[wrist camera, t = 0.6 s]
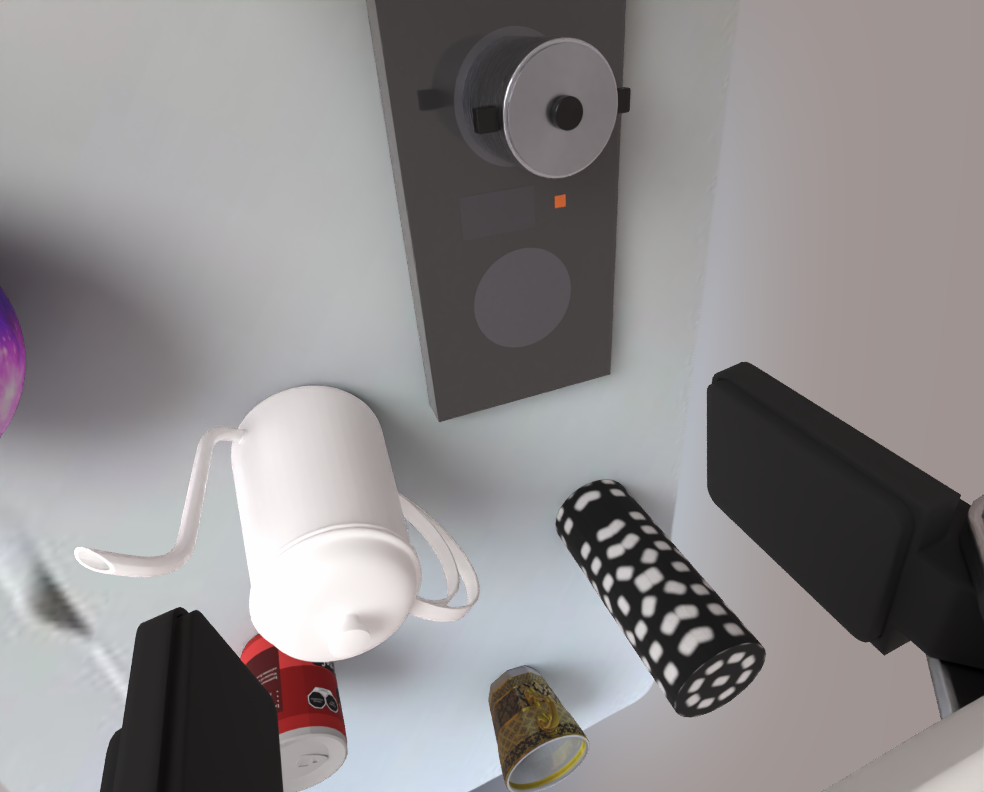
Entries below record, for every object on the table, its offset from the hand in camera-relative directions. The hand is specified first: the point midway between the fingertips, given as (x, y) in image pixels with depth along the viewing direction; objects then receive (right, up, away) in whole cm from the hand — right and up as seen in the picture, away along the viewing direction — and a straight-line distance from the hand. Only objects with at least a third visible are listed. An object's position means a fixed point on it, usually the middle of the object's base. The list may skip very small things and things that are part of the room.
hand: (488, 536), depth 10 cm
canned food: (-19, -21, +45) cm, 53 cm away
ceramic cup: (+3, -31, +61) cm, 69 cm away
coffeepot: (-14, -1, +35) cm, 37 cm away
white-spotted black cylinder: (+10, -9, +51) cm, 53 cm away
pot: (+1, +20, +25) cm, 32 cm away
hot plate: (+1, +16, +31) cm, 35 cm away
